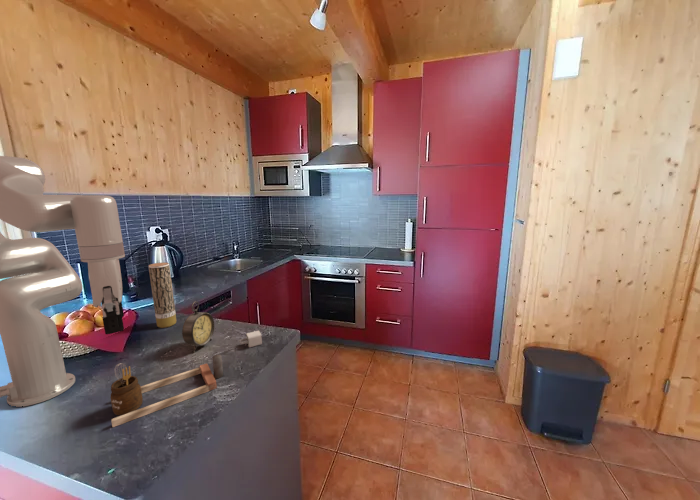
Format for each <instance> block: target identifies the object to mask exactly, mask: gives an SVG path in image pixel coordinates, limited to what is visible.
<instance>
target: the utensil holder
mask: <svg viewBox="0 0 700 500" xmlns="http://www.w3.org/2000/svg"><path fill="white" fill-rule="evenodd" d="M120 365H121V366H120ZM119 366H120V368H121V371H120V369H118V368H119ZM122 367H123V368H122ZM116 369H117V370H116ZM118 370H119V371H118ZM114 372H122V374H121V373H120V375H119V374H118V373H114V374H115V376H117V380H115V381H114V382H113V383H112V384H111V386H110V391H111V392H110V405H111V408H112V413H113V414H114V415H115V416H121V415H124V414H127V413H130V412H132V411H135V410H138V409H140V407H141V406H142V405H143V402H144V401H143V393H142V391H141V387H140V386H141V385H140V383H139V380H138V377H136V376H135V375H131V366H128V368H127V366H126V364H124V363H123V362H122V363H119V364H116V365H115V368H114Z"/></svg>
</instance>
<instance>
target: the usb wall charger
mask: <svg viewBox="0 0 700 500" xmlns="http://www.w3.org/2000/svg"><path fill="white" fill-rule="evenodd" d="M245 336H246V337H245V338H242V339H239V340H238V342H239V343H240V345H245V344H248V345H247V347H248V348H252V347H253V348H254V347H257V346H260V345H263V339H262V338H263V336H262V333H261V332H260V330H255V331H251V332H247V333H245Z"/></svg>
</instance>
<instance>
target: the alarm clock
mask: <svg viewBox="0 0 700 500" xmlns="http://www.w3.org/2000/svg"><path fill="white" fill-rule="evenodd" d="M195 303H197V308H195V309H194V308H193V307H194V304H195ZM199 307H200V305H199V302H198V301H197V300H196V301H193V303H192V304H191V311H192V312H194V313H191V314H190V315H188V316H187V318H186V319H185V320H184V322H183V325H182V329H181V334H182V339H183V341H184V342H185V343H186V344H187V345H189V346H193V351H192V354H195V352H196V350H197V347H203V346H205V345H207V344H208V343H210V341H213V340H212V337H213V336H214V332H215V321H214V317H213V316H212V315H211V313H209V312H198V309H199Z"/></svg>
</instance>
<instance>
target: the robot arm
mask: <svg viewBox="0 0 700 500" xmlns="http://www.w3.org/2000/svg"><path fill="white" fill-rule="evenodd" d="M45 183H46V175H45V172H44V171H43V169H42V168H41V167H40V165H39V164H37V163H36V162H35V161H32V160H31V159H27V158H25V157H18V156H7V155H0V220H1V221H2V222H4V223H7V224H8V225H11V226H13V227H15V228H17V229H19V230H21V231H26V232H30V233H31V232H32V233H45V232H55V231H62V230H63V231H64V230H75V231H74V233H75V236H76V241H77V242H76V243H77V247H78V251H79V252H78V254H79V256H80V257H79V258H80V262H83V263H87V269H88V271H87V272H88V281H89V285H90V292H91V298H92V306H93V307H94V308H99V306H101V310H102V316H101V318H102V324H103V329H104V330H103V331H104V333H105V335H111V334H115V333H119V332H123V331H125V327H124V321H123V317H124V315H125V313H124V308H123V307H124V306H123V281H122V280H123V278H122V273H121V265H120V260H119V259H122V258H125V256H126V254H125V247H124V241H123V234H122V227H121V223H120V217H119V216H120V215H119V210H118V205H117V201H116V199H115V198H114V197H113V196H110V195H107V194H106V195H105V194H104V195H101V194H99V195H98V194H97V195H96V194H95V195H94V194H93V195H90V194H89V195H86V194H44V191H45V190H44V186H45ZM82 290H83V283H82V280H81V278H80V276H79V275H78V273H77V272H76V271H75V269H74V268H73V267H72V266H71V264H70V263H69V262H68V260H67V259H66V258H65V257H64V256H63V253H61V252H60V250H59V249H58V248H57V247H56V246H55V245H54V244H53V243H52V242H51V241H48V240H46V239H44V238H40V237H25V238H17V239H13V238H7V237H6V236H4V234H2V232H1V231H0V339H1V343H2V346H3V349H4V353H5V358H6V363H7V366H8V370H9V374H10V378H11V382H7V383H6V384H5V385H2V386H0V398H2V397H6V396H7V397H6V402H7V405H8V404H9V405H11V406H10V407H12V406H16V407H17V408H18V407H19V408H23V407H30V406H33V405H36V404H40V403H43V402H46V401H49V400H51V399H53V398H55V397H58V396H59V395H61V394H63V393H65V392H66V391H68V390H69V389H70V388H71V387H72V386H73V385H74V384H75V383H76V376H75V375H74V374H73V373H69V372H66V367H65V362H64V357H63V353H62V352H63V351H62V348H61V343H60V339H59V338H60V337H59V333H58V329H57V324H56V323H55V321H54V320H53V319H52V318H50V317H49V316H47V315H45V314H44V313H42V312H41V311H42V310H44V309H47V308H49V307H52V306H56V305H60V304H62V303H65V302H69V301H71V300H74V299H77V298H78V297H79V296H80V294H81V293H82ZM9 405H8V406H9ZM22 406H23V407H22ZM16 407H15V408H16Z"/></svg>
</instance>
